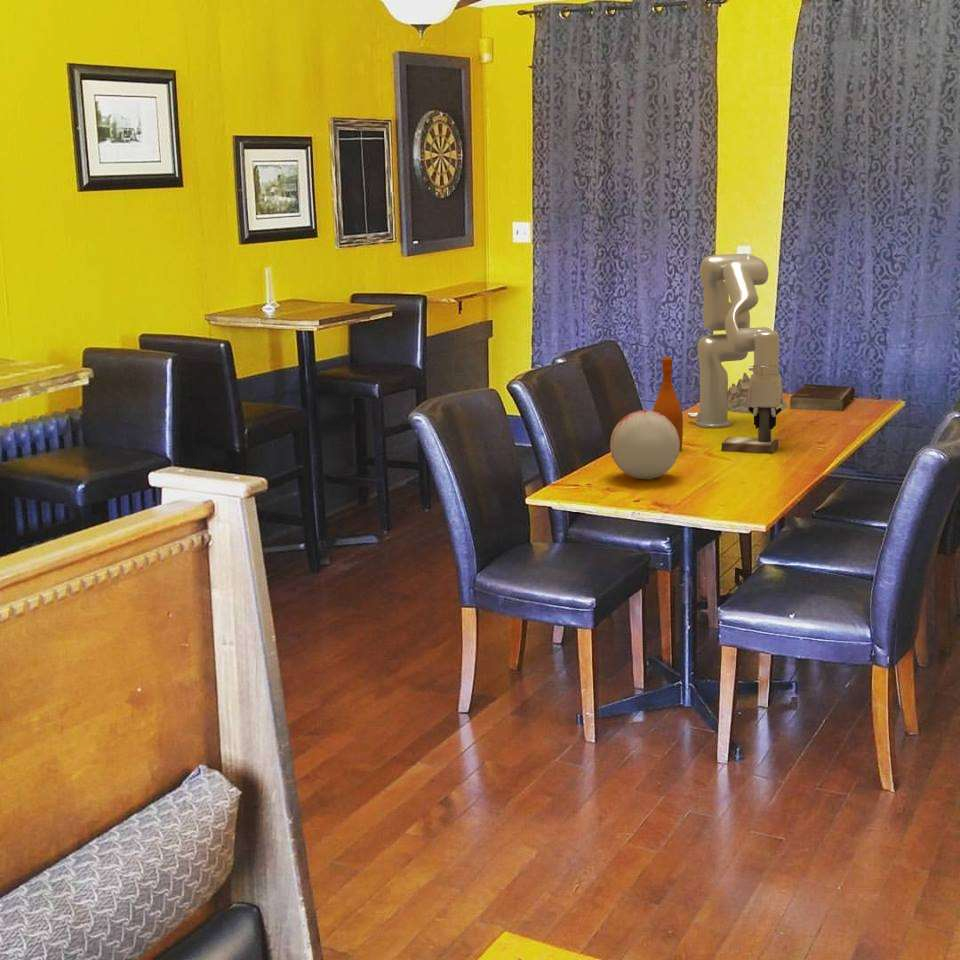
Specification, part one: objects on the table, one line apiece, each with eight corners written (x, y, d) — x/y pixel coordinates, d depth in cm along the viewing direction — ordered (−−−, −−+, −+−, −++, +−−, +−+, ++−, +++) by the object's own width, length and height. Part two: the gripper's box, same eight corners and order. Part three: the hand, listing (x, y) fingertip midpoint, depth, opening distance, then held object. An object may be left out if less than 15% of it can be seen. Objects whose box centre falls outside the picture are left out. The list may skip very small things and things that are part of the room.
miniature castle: (776, 411, 449) (774, 370, 446) (731, 415, 448) (730, 374, 446) (765, 406, 464) (763, 367, 461) (722, 410, 464) (720, 370, 461)
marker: (756, 441, 387) (757, 398, 384) (759, 439, 391) (760, 395, 387) (769, 442, 386) (770, 398, 382) (772, 439, 389) (773, 396, 386)
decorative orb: (608, 471, 368) (607, 405, 363) (675, 469, 367) (675, 403, 363) (613, 488, 348) (612, 419, 343) (684, 486, 347) (684, 417, 342)
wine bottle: (686, 447, 396) (686, 355, 389) (677, 453, 387) (678, 359, 380) (656, 445, 400) (656, 354, 393) (647, 452, 392) (647, 358, 384)
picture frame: (721, 450, 389) (721, 442, 389) (728, 444, 398) (728, 436, 398) (772, 453, 383) (772, 445, 382) (778, 447, 392) (778, 438, 391)
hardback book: (842, 412, 446) (842, 399, 445) (790, 410, 454) (790, 396, 453) (854, 398, 471) (855, 385, 470) (805, 396, 479) (805, 384, 478)
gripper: (736, 371, 383) (735, 429, 387) (791, 373, 376) (789, 431, 381) (741, 367, 389) (740, 424, 394) (795, 369, 383) (793, 427, 387)
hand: (764, 427), depth 387 cm, fingers closed on marker, 4 cm apart
